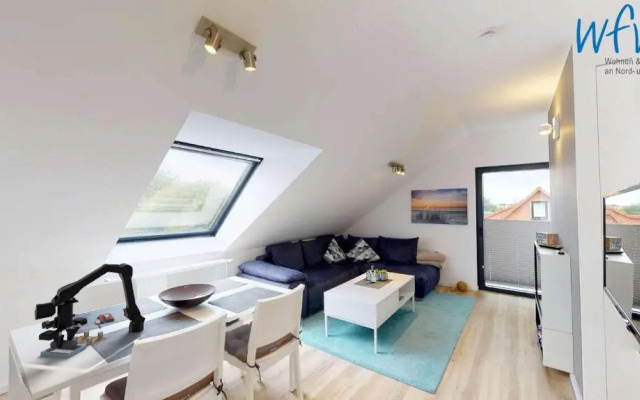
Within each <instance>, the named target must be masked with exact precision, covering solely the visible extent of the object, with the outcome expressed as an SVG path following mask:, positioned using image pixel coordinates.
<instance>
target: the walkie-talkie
mask: <svg viewBox="0 0 640 400" xmlns="http://www.w3.org/2000/svg"><path fill="white" fill-rule="evenodd" d="M94 322H95V325H97V327H98V329H100V330H101V329H102V326H101V325H102V324H105V323H114V322H115V318H114V316H113V315H112V313H110V312H109V313H108V312H106V313H103V314H99V315H98V316H97V318H96V320H95V321H94Z"/></svg>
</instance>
